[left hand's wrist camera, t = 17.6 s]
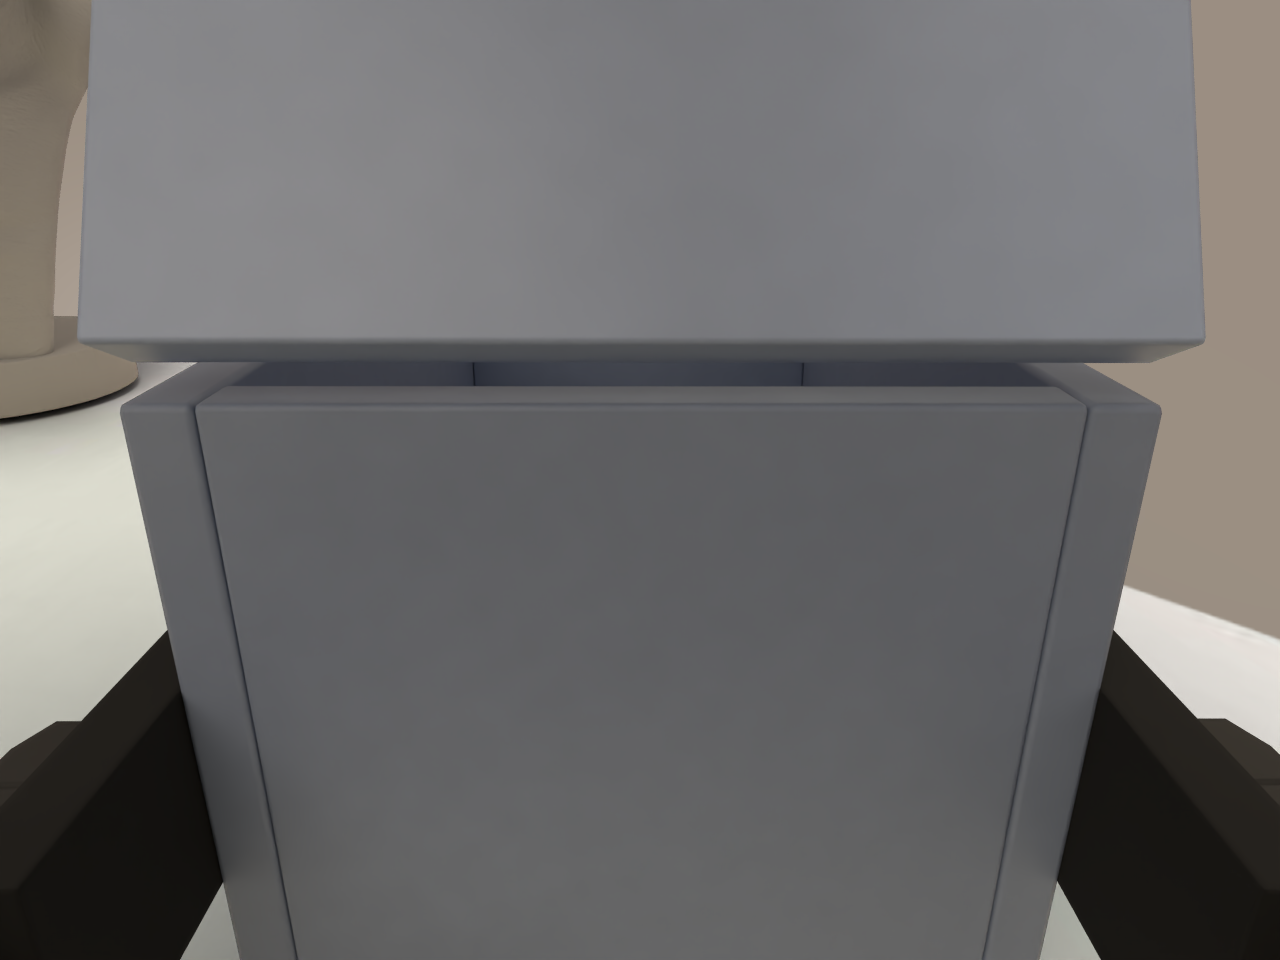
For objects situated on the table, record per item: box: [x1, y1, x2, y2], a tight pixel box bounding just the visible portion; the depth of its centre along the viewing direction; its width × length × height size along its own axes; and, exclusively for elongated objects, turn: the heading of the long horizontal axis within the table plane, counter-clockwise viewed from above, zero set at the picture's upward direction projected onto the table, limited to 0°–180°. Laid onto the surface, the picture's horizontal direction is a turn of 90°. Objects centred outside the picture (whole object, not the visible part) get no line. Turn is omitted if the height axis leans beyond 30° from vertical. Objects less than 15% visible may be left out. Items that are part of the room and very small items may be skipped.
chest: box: [120, 362, 1162, 960], centre depth 18 cm, size 15×10×11 cm, turn 0°
